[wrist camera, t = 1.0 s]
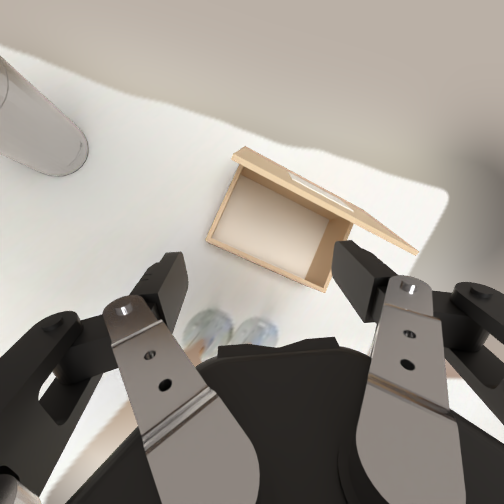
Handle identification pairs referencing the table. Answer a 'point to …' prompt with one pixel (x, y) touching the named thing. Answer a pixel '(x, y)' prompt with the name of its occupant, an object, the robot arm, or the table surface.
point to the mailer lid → (317, 195)
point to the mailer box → (278, 229)
